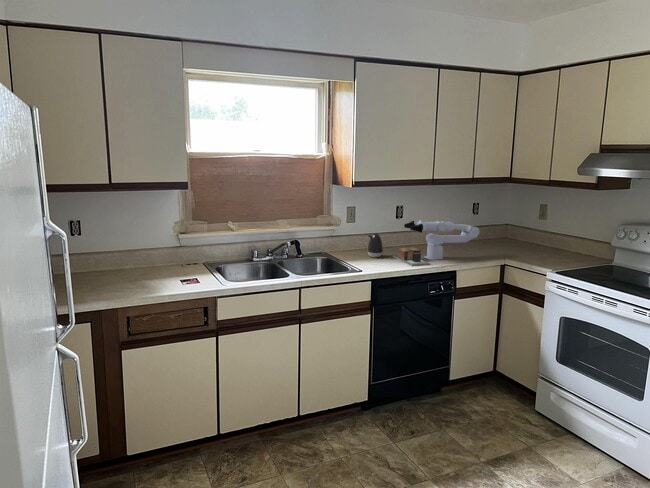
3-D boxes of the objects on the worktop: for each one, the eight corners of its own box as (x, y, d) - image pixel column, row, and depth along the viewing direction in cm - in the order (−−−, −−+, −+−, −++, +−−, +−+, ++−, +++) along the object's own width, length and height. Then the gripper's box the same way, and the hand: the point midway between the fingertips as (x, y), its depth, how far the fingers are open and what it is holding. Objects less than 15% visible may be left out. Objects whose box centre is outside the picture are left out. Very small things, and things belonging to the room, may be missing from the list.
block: (410, 255, 312) (410, 249, 311) (413, 257, 309) (413, 250, 308) (404, 256, 311) (404, 250, 310) (407, 257, 307) (408, 251, 306)
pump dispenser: (364, 255, 320) (364, 232, 317) (378, 254, 324) (379, 231, 321) (370, 258, 311) (371, 235, 308) (385, 257, 315) (386, 234, 312)
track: (409, 256, 321) (409, 254, 321) (429, 264, 298) (429, 262, 298) (393, 257, 317) (393, 255, 317) (412, 266, 294) (412, 264, 294)
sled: (410, 256, 315) (411, 248, 314) (422, 261, 301) (423, 253, 300) (400, 256, 312) (401, 249, 311) (412, 262, 299) (413, 254, 298)
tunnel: (413, 256, 316) (414, 247, 314) (420, 259, 308) (420, 249, 307) (397, 257, 312) (398, 248, 311) (403, 260, 304) (404, 250, 303)
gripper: (421, 218, 315) (402, 218, 310) (433, 222, 302) (414, 222, 297) (420, 229, 317) (401, 229, 312) (432, 233, 304) (413, 234, 299)
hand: (407, 226), depth 305 cm, fingers open, 7 cm apart
